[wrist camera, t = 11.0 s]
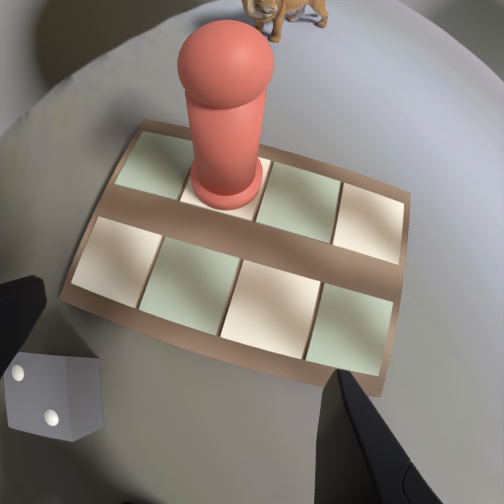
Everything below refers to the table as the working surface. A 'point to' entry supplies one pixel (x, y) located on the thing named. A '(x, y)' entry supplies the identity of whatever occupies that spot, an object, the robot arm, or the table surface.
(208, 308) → the board
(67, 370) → the die
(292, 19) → the lion figurine
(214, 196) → the pawn
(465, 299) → the table surface
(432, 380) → the table surface
